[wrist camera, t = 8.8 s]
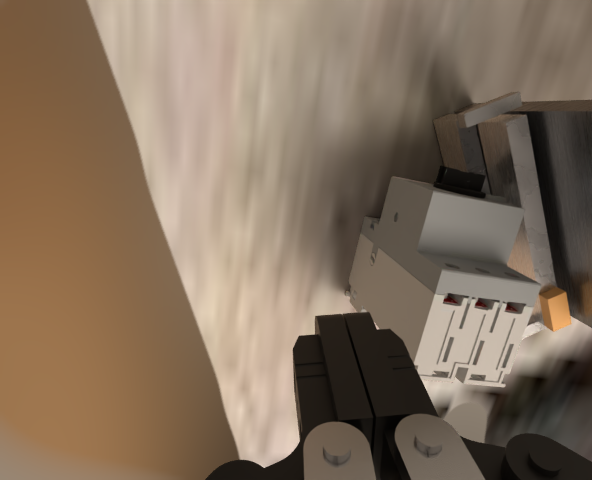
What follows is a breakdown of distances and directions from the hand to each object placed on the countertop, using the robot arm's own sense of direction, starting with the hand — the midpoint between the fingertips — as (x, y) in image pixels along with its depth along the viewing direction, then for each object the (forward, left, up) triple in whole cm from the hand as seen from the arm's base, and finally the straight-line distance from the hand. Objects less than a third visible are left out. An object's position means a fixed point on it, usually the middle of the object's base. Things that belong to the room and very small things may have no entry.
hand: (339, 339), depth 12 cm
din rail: (+9, +18, -28) cm, 35 cm away
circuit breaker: (+10, +11, -28) cm, 32 cm away
